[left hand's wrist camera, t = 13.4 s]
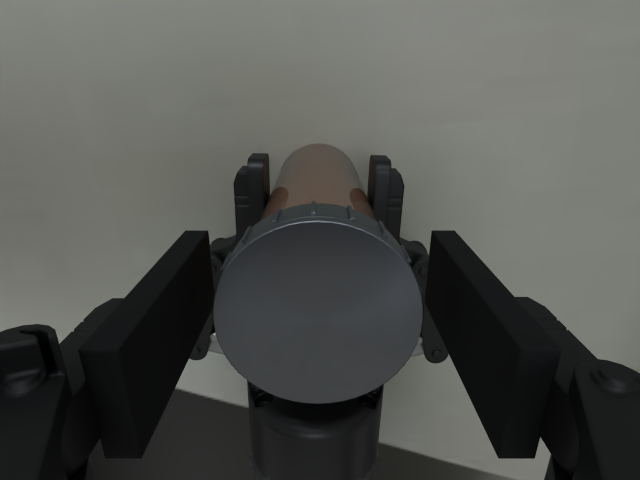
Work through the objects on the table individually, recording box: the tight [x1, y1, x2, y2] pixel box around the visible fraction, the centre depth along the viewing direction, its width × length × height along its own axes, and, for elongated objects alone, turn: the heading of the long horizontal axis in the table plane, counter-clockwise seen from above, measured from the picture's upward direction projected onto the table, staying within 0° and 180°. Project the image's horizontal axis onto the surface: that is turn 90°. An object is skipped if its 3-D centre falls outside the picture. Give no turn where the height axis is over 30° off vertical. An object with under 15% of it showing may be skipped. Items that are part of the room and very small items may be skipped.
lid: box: [212, 201, 424, 404], centre depth 12 cm, size 6×6×2 cm
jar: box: [259, 144, 377, 222], centre depth 18 cm, size 5×5×15 cm
